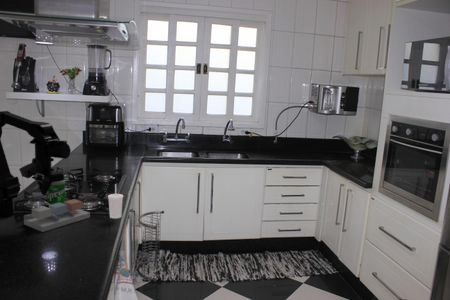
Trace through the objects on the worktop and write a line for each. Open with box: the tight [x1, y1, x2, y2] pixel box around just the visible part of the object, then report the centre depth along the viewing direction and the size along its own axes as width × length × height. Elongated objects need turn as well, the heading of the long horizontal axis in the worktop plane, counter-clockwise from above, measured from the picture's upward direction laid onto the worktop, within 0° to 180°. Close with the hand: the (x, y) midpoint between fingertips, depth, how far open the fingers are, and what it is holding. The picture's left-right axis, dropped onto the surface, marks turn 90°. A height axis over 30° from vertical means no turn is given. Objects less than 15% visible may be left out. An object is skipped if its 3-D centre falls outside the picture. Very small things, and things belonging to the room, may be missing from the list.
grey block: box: [31, 205, 51, 219], centre depth 152 cm, size 5×5×3 cm
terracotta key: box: [64, 198, 83, 211], centre depth 164 cm, size 5×5×3 cm
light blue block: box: [48, 202, 67, 215], centre depth 158 cm, size 5×5×3 cm
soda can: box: [46, 179, 67, 204], centre depth 176 cm, size 8×8×12 cm
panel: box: [23, 209, 91, 233], centre depth 159 cm, size 12×21×4 cm, turn 147°
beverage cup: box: [107, 183, 124, 219], centre depth 166 cm, size 6×6×14 cm
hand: (43, 194), depth 156 cm, fingers closed
